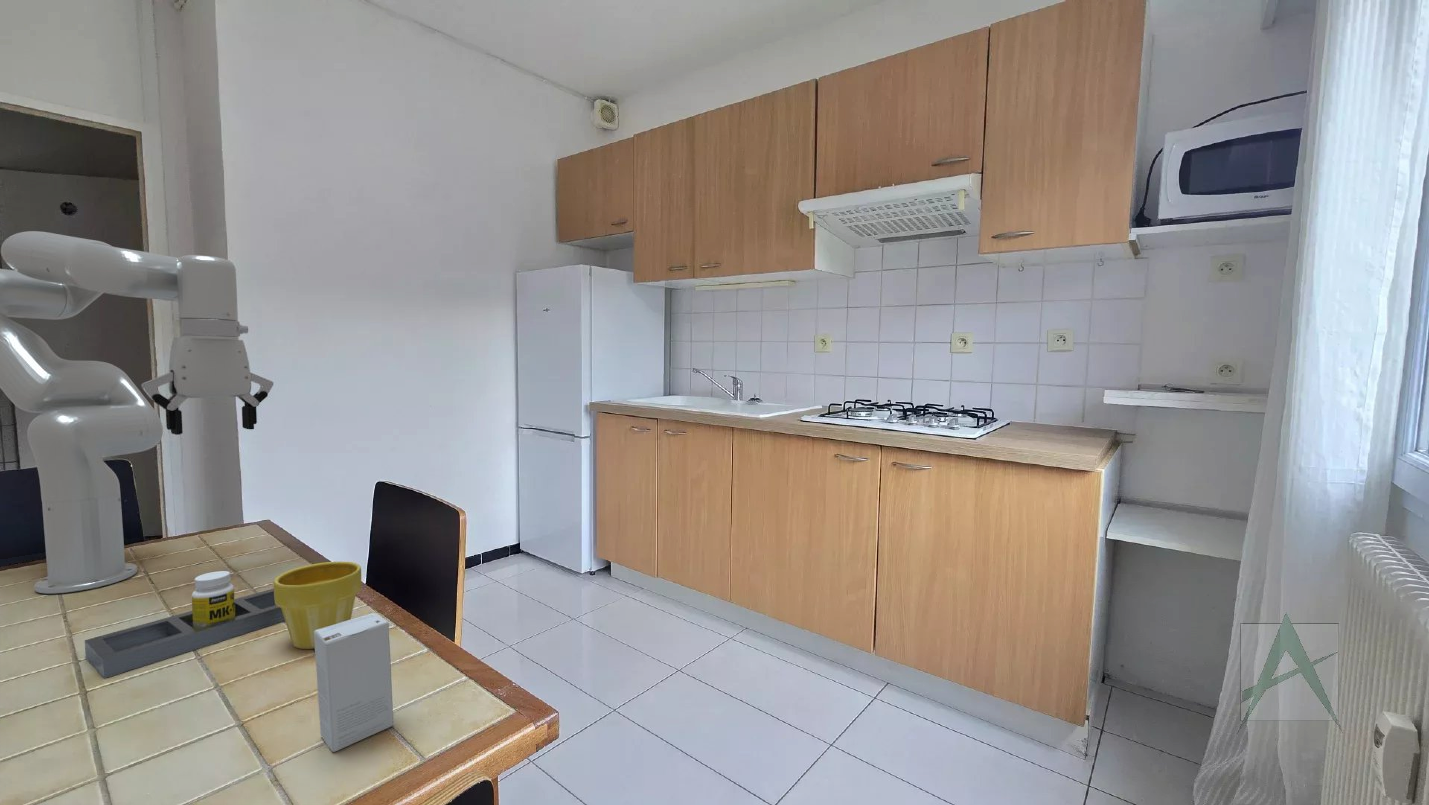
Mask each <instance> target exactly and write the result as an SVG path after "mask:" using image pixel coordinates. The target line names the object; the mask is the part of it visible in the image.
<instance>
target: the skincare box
mask: <svg viewBox="0 0 1429 805" xmlns="http://www.w3.org/2000/svg"><path fill="white" fill-rule="evenodd" d="M314 642H315V648H314V653H315V654H314V655H315V667H316V669H315V670H316V684H317V685H316V686H317V687H316V688H317V700H318V713H319V714H318V717H319V718H318V719H319V728H320V729H319V733H320V736H321V738H322V739H323V741H324V743H325V744H326V745H327V747H328V748H329V749H330V750H331V752H333V753H335V752H338V751H340V750H342V749H345V748H346V747H349V746H351V745H353V744H355V743H357V742H360V741H362V740H364V739H366V738H369V737H371V736H373V735H375V734H377V733H379V732H382V731H384V730H386V729H389V728H391V727H393V726H394V708H393V707H394V706H393V705H394V704H393V685H392V684H393V683H392V664H391V660H392V659H391V642H390V624H389V621H387V620H386V619H384V618H383V617H382V616H380V615H379V614H377V613H376V612H372V613H368V614H364V615H361V616H357V617H355V618H351V620H348V621H345V622H341V623H338V624H335V625H331V626H328V627H325V628H321V629H318V630H315V631H314Z"/></svg>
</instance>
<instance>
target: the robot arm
mask: <svg viewBox="0 0 1429 805" xmlns="http://www.w3.org/2000/svg"><path fill="white" fill-rule="evenodd" d="M0 255H1V257H2V259H3V261H4V262H5V263H6V264H7V265H8V266H9V267H10V268H11V269H7V268H4V269H3V268H0V389H1V391H2V392H3V394H4V395H5V396H6V398H8V400H10V402H12V403H13V404H14V406H15V407H17V408H18V409H19V410H22V411H23V412H26V413H34V414H39V415H37V416H35V418H33V419H32V420H31V422H30V423H29V425H28V427H27V433H26V435H27V441H28V445H29V448H30V449H31V452H32V455H33V458H34V460H35V464H36V468H37V472H38V478H39V486H40V497H41V503H42V504H41V506H42V508H41V509H42V518H43V519H42V520H43V532H44V544H45V557H46V558H45V559H46V560H45V562H46V570H47V576H45V577H43V578H41V579H39V580H37V581H36V582H35V583H34V584H33V585H34V591H35V592H36V593H40V594H49V595H50V594H52V595H53V594H64V593H74V592H80V591H85V590H91V589H95V588H96V589H97V588H100V587H103V586H108V585H112V584H115V583H119V582H121V581H124V580H126V579H129V578H131V577H133V576H134V575H136V573H138V566H137V564H135V563H132V562H131V563H130V562H126V559H125V558H126V557H125V544H124V528H123V527H124V526H123V514H122V511H123V510H122V501H121V500H122V498H121V487H120V486H121V484H120V480H119V478H118V476H117V474H116V473H115V471H113V469H112V468H111V467H109V466H108V464H107V463H106V462H105V461H104V460H103V458H108V457H115V456H120V455H121V456H122V455H129V454H136V453H141V452H146V451H149V450H151V449H153V448H155V447H156V446H157V445H158V444H159V443H160V442H161V439H162V437H163V432H164V428H163V427H164V426H163V423H162V421H161V418H160V416H159V414H158V413H157V411H156V410H155V408H154V407H153V406H152V405H151V403H150V402H149V401H148V400H147V398H146V396H144V395H143V393H142V392H141V391H140V389H139V388H138V387H137V385H136V384H135V383H134V382H133V381H132V379H131V378H130V376H128V374H127V373H126V372H125V371H124V370H122V369H121V368H120V367H117V366H116V365H114V364H112V363H109V362H106V361H105V362H104V361H99V360H71V359H65V358H62V357H60V356H58V355H57V354H56V353H55V352H54V351H53V350H52V349H51V347H50V345H49V344H48V343H47V342H46V341H45V340H44V339H43V338H42V337H41V336H39V334H37V333H36V332H34V331H32V330H31V329H29V328H27V327H26V326H24V325H22V324H19V323H17V322H16V321H14V320H12V319H11V318H19V319H25V318H26V319H36V320H37V319H39V320H40V319H41V320H65V319H70V318H72V317H75V316H77V315H78V314H79V313H81V312H82V311H84V310H85V309H86V308H87V307H89V305H91V304H92V303H93V302H94V301H96V300H97V299H98V298H99V297H101V296H102V295H103V294H108V295H115V296H120V297H128V298H138V299H139V298H141V299H149V300H150V299H151V300H159V301H160V300H161V301H168V302H170V301H171V302H176V303H177V302H178V305H177V306H178V325H179V327H178V328H179V337H173V338H172V342H171V346H170V352H169V353H170V354H169V363H168V365H169V366H168V372H167V373H165V374H162V375H160V376H157V377H155V378H152V379H150V380H147V381H145V382H142V383H141V385H140V386H141V389H143V391H144V392H145V394H146V395H147V396H148V397H149V398H150V399H149V400H151V401H152V402H154V403H156V404H157V405H158V406H160V407H161V408H162V409H163V410H165V426H166V429H167V430H169V431H170V433H171V434H172V435H177V436H178V435H182V434H183V415H182V412H183V411H182V410H180V409H179V407H180V406H181V405H182V404H183V403H184V402H185V401H186V400H187V399H207V398H209V399H211V398H236V397H237V399H239V400H240V401H241V402H243V403H244V405H243V406H242V407H241V419H242V420H241V423H242V428H243V429H245V430H254V429H255V425H256V424H257V423H258V415H257V412H258V411H257V407H259V405H260V403H261V402H263V401H264V400H265V399H266V398H267V397H268V396H269V395H268V394H269V393H270V391H271V390H272V388H273V387H274V382H273V381H272V380H270V379H267V378H265V377H262V376H260V375H257V374H255V373H253V372H251V368H250V362H249V357H248V353H247V348H246V345H245V342H244V339H239V338H240V337H241V335H242V334H243V335H244V334H248V333H249V327H248V325H243V324H241V323H240V321H239V318H238V317H239V316H238V315H239V314H238V291H237V270H236V266H235V264H234V263H233V262H232V261H231V260H228V259H225V258H223V257H218V256H212V255H201V254H200V255H199V254H187V255H182V256H179V257H175V256H170V255H165V254H159V253H155V252H148V251H142V250H135V249H129V248H124V247H122V248H121V247H117V246H112V245H111V244H108V243H106V242H104V241H101V240H94V239H89V238H88V239H87V238H83V237H77V236H69V235H64V234H60V233H59V234H57V233H53V232H49V231H48V232H46V231H37V230H34V231H33V230H30V231H22V232H17V233H15V234H12V235H10V236H9V237H7V238H6V239H5V240H4V241H3V242H2V244H1V247H0ZM252 383H256V385H259V389H258V391H257V392H255V393H254V394H253V395H252V394H251V391H252ZM165 384H168V390H169V394H170V396H169V397H168V398H166V397H165V396H164V395H162V394H161V393H160V391H159V390H158V389H159V387H161V386H163V385H165Z"/></svg>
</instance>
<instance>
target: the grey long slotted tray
mask: <svg viewBox="0 0 1429 805" xmlns="http://www.w3.org/2000/svg"><path fill="white" fill-rule="evenodd" d="M283 622H285V618H284V615H283V612H282V609H281V608H280V607H278V606H277V605H276V604H275V599H274V587H272V588H270V589H267V590H264V591H260V592H256V593H251V594H248V595H245V596H241V597H238V598H237V597H236V598H235V617H234V618H230V619H227V620H224V621H220V622H217V623H213V624H210V625H207V626H203V627H200V628H197V629H193V612H192V610H189V611H186V612H183V613H179V614H175V615H172V616H168V617H164V618H160V619H157V620H154V621H153V620H152V621H150V622H145V623H142V624H139V625H135V626H131V627H128V628H125V629H121V630H117V631H113V632H110V633H106V634H103V635H99V636H96V637H92V638H91V637H90V638H88V639H85V640H84V641H83V642H84V654H85V655H84V656H85V659H86V660H87V661H88V662H89V663H90V664H91V666H92V667H93V668H95V670H96V671H97V672H98V673H99V674H100V676H101V677H103V679H107V678H110V677H113V676H117V675H120V674H123V673H126V672H129V671H133V670H136V669H138V668H143V667H145V666H148V665H151V664H154V663H157V662H161V661H164V660H167V659H170V658H174V657H176V656H179V655H184V654H186V653H189V652H192V651H195V650H198V649H202V648H204V647H207V646H211V645H214V644H217V643H221V642H223V641H226V640H230V639H232V638H236V637H240V636H242V635H245V634H249V633H251V632H255V631H257V630H261V629H264V628H267V627H270V626H274V625H277V624H280V623H283Z"/></svg>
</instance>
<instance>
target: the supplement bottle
mask: <svg viewBox="0 0 1429 805" xmlns="http://www.w3.org/2000/svg"><path fill="white" fill-rule="evenodd" d="M231 578H232V577H231V572H230V571H228V570H226V571H225V570H221V571H219V570H218V571H211V572H207V573H203V574H201V575H200V574H199V575H198V576H196V577H195V578H194V589H195V590H194V591H193V592H192V594H191V606H192V610H191V611H192V612H193V629H197V628H200V627H203V626H207V625H210V624H213V623H217V622H220V621H224V620H227V619H230V618H234V617H235V599H236V598H235V587H234V585H233V584H232V583H231V580H232V579H231Z"/></svg>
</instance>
